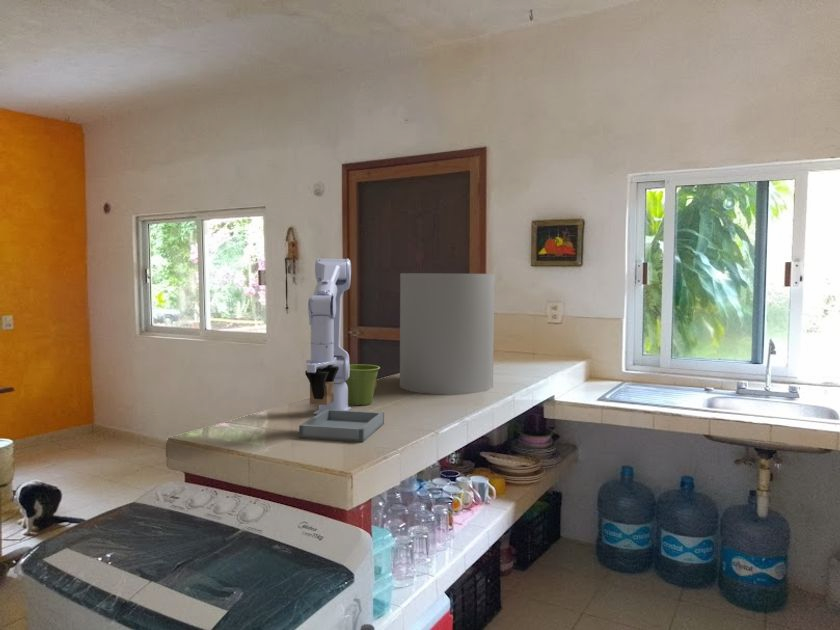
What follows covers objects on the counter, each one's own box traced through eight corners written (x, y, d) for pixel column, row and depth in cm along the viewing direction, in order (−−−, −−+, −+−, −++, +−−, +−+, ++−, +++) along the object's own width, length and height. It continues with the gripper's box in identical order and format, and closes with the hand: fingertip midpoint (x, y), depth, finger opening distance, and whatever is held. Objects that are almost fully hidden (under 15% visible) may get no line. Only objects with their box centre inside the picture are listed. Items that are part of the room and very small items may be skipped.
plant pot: (373, 408, 176) (374, 370, 175) (335, 406, 178) (335, 369, 177) (384, 400, 187) (384, 364, 187) (348, 398, 190) (348, 363, 189)
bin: (326, 420, 161) (326, 409, 161) (384, 423, 157) (384, 412, 157) (299, 437, 143) (299, 425, 143) (362, 442, 140) (362, 429, 140)
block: (317, 400, 153) (317, 381, 153) (333, 401, 152) (333, 381, 152) (310, 403, 149) (309, 384, 148) (327, 404, 148) (326, 384, 147)
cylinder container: (472, 398, 192) (473, 273, 190) (382, 389, 206) (383, 273, 204) (504, 381, 223) (506, 274, 220) (424, 374, 237) (425, 273, 234)
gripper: (318, 339, 157) (318, 390, 158) (295, 345, 143) (295, 401, 144) (343, 340, 156) (343, 392, 157) (322, 346, 142) (322, 403, 143)
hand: (322, 396), depth 150 cm, fingers closed on block, 4 cm apart
